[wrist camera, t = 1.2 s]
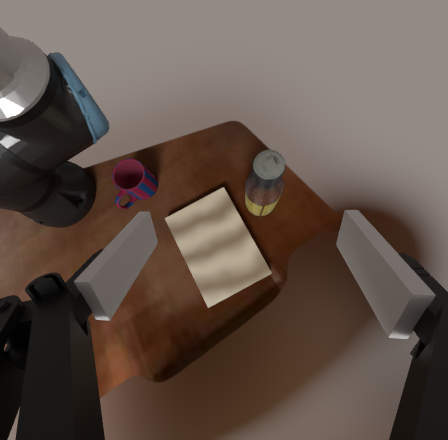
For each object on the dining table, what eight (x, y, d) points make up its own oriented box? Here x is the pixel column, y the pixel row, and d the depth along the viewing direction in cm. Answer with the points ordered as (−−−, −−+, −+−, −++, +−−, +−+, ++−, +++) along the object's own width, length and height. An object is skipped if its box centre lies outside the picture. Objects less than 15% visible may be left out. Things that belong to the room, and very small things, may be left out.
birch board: (167, 220, 47) (164, 218, 45) (224, 189, 47) (223, 186, 45) (209, 305, 43) (208, 308, 41) (270, 272, 43) (271, 273, 41)
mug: (163, 180, 48) (151, 167, 42) (139, 218, 47) (123, 211, 40) (139, 167, 49) (124, 152, 43) (115, 203, 48) (95, 195, 41)
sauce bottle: (274, 189, 46) (300, 140, 26) (273, 218, 45) (300, 188, 25) (244, 188, 47) (247, 139, 27) (242, 216, 46) (245, 186, 26)
